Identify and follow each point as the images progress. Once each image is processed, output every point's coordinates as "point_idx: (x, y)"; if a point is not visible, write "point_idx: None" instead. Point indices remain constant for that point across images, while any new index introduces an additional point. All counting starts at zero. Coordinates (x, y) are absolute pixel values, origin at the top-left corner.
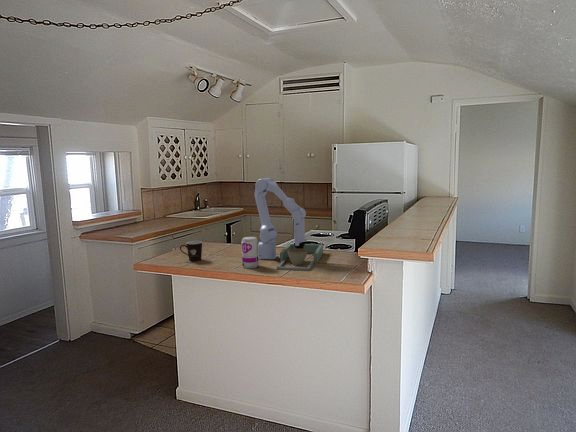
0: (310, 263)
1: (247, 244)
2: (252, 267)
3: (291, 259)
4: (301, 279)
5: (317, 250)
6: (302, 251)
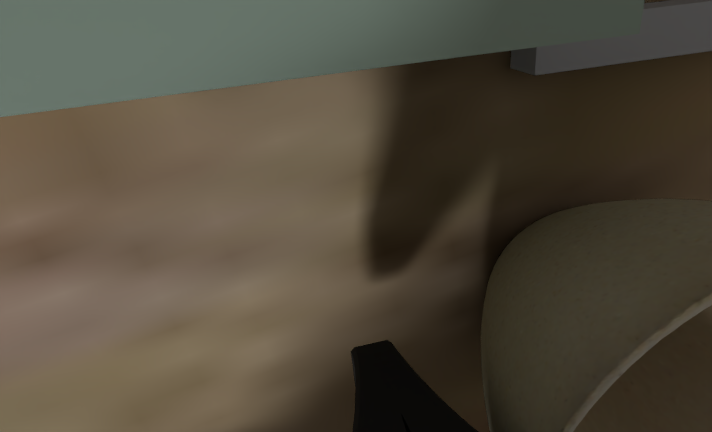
0: (707, 38)
1: None
2: None
3: (707, 377)
4: None
5: (105, 45)
6: (536, 385)
